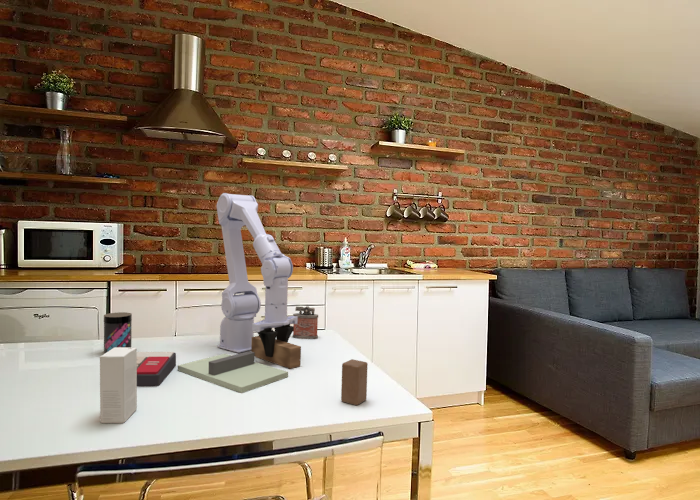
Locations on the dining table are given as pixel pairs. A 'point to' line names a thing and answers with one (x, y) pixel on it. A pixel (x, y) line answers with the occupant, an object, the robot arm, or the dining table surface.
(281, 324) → the robot arm
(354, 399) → the wooden block
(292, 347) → the walnut batten
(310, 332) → the lighter
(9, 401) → the dining table surface
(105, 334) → the supplement container
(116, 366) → the skincare box
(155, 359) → the red and black box
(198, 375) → the stand
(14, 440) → the dining table surface
